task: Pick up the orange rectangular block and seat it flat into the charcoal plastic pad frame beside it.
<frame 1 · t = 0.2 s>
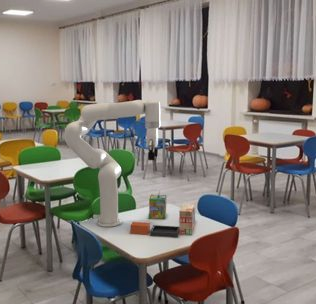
hand: (152, 158, 215), 36 cm above the table, tool pointing down, fingers open, 9 cm apart
orange rectangular block: (140, 232, 212), on the table
pad frame: (165, 233, 211), on the table
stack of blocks: (187, 227, 219), on the table
chalk box: (157, 216, 236), on the table
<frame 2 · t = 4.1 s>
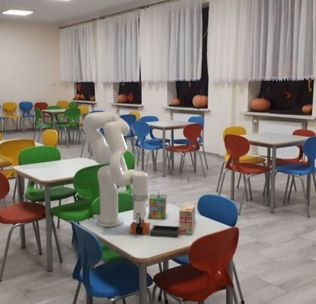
hand: (140, 231, 212), 0 cm above the table, tool pointing down, fingers closed on orange rectangular block, 5 cm apart
orange rectangular block: (140, 232, 212), on the table, touching gripper
everything else where it was.
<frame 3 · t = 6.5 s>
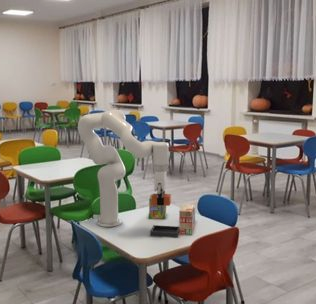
hand: (161, 203, 208), 16 cm above the table, tool pointing down, fingers closed on orange rectangular block, 5 cm apart
orange rectangular block: (161, 203, 208), point 15 cm above the table, touching gripper
everything else where it was.
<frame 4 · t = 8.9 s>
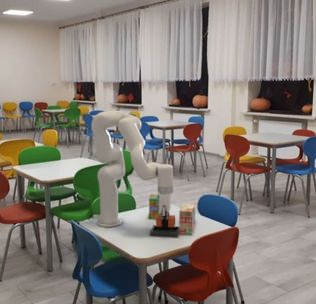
hand: (165, 224, 210), 5 cm above the table, tool pointing down, fingers closed on orange rectangular block, 5 cm apart
orange rectangular block: (165, 225, 210), point 4 cm above the table, touching gripper
everything else where it was.
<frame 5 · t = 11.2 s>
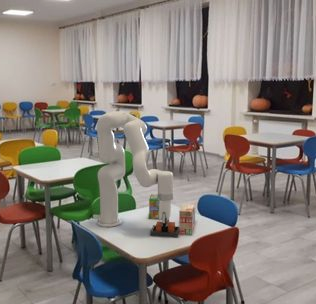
hand: (165, 231, 211), 1 cm above the table, tool pointing down, fingers closed on orange rectangular block, 5 cm apart
orange rectangular block: (165, 231, 211), point 1 cm above the table, touching gripper
everything else where it was.
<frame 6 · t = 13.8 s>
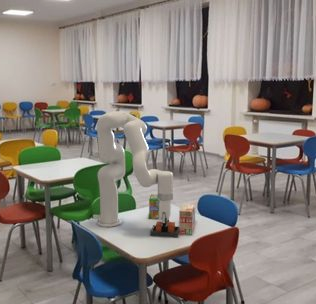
hand: (165, 231, 211), 1 cm above the table, tool pointing down, fingers closed on orange rectangular block, 5 cm apart
orange rectangular block: (165, 231, 211), point 1 cm above the table, touching gripper
everything else where it was.
when the fingers open (2 cm above the table, at t = 18.0 s): orange rectangular block drops 1 cm, resting on pad frame.
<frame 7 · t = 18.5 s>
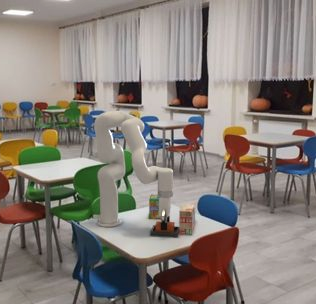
hand: (165, 226, 210), 3 cm above the table, tool pointing down, fingers open, 9 cm apart
orange rectangular block: (165, 231, 211), point 1 cm above the table, touching pad frame
everything else where it was.
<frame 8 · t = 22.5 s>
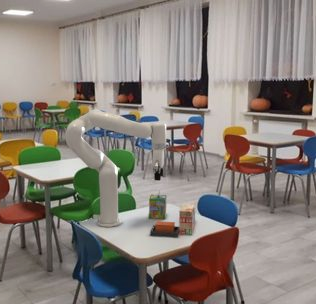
hand: (158, 178, 223), 24 cm above the table, tool pointing down, fingers open, 9 cm apart
nothing on the table moved.
at the end: orange rectangular block 0.1 cm off-centre in the pad frame, point 0.6 cm above the pad frame's base; orange rectangular block tilted 0°; the gripper is holding nothing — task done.
